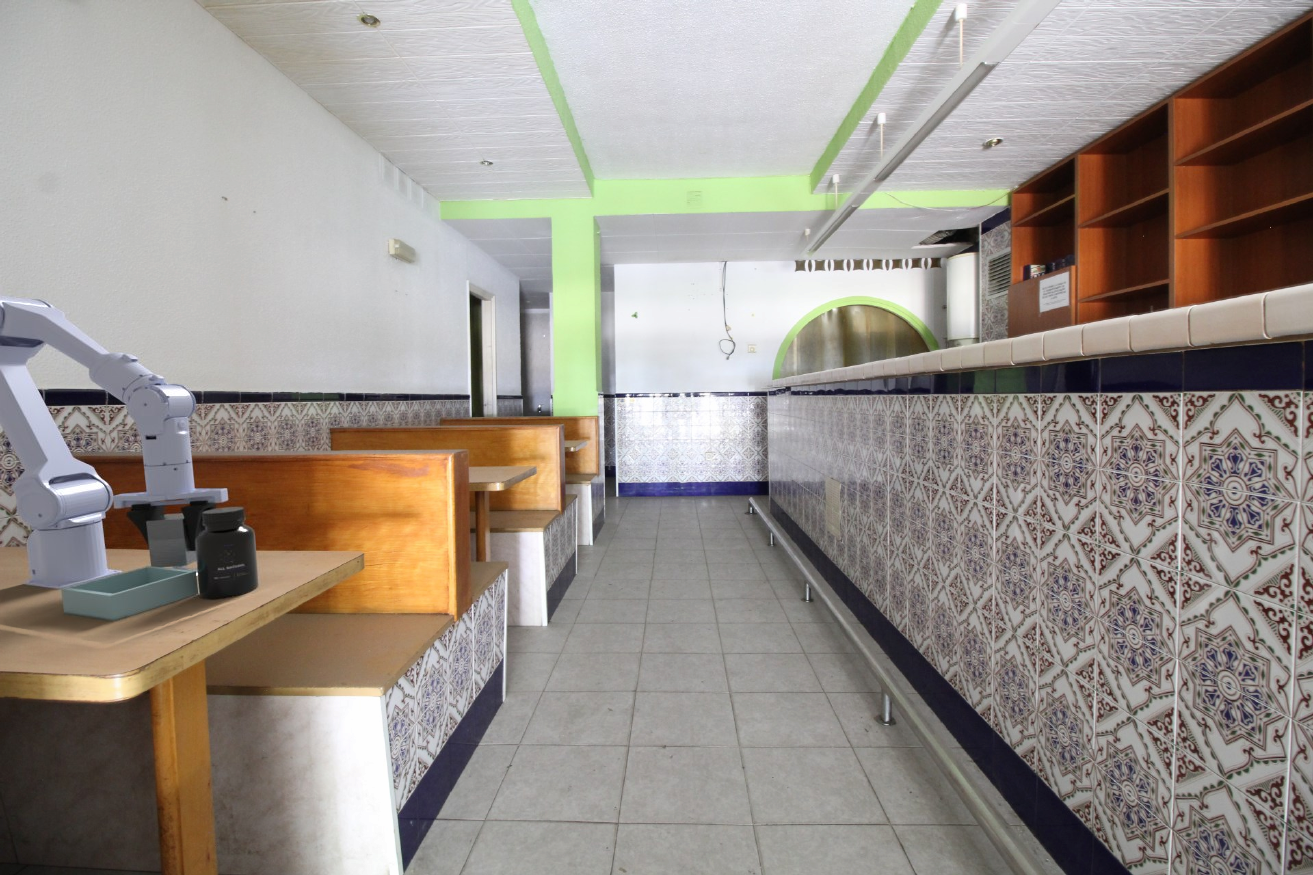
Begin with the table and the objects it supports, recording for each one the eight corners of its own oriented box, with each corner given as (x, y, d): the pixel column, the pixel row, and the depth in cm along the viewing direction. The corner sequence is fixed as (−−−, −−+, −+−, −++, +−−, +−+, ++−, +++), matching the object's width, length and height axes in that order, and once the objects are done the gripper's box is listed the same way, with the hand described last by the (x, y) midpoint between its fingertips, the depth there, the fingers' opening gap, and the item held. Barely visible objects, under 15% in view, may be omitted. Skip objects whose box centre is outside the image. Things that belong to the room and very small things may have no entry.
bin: (64, 615, 77) (61, 589, 77) (151, 590, 87) (148, 565, 86) (113, 623, 74) (110, 595, 74) (198, 596, 83) (196, 571, 83)
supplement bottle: (229, 603, 80) (220, 515, 79) (187, 601, 81) (178, 515, 80) (271, 586, 87) (263, 505, 86) (232, 584, 88) (224, 504, 87)
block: (170, 558, 94) (166, 514, 94) (204, 556, 95) (200, 512, 95) (151, 568, 90) (146, 521, 89) (187, 565, 91) (182, 518, 90)
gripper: (94, 469, 86) (104, 561, 87) (207, 464, 88) (215, 554, 90) (127, 463, 93) (137, 548, 94) (231, 458, 95) (239, 542, 97)
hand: (177, 550), depth 92 cm, fingers closed on block, 5 cm apart
